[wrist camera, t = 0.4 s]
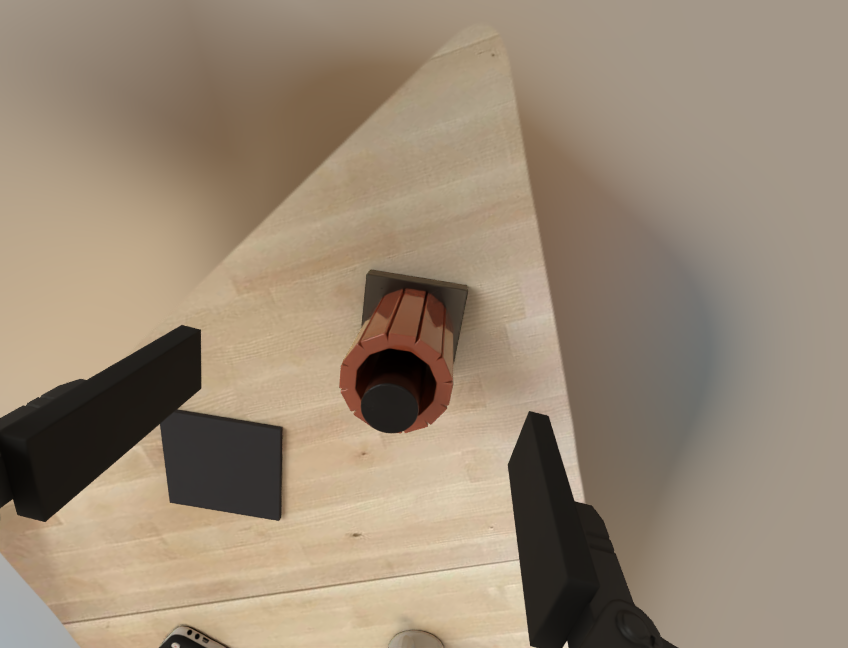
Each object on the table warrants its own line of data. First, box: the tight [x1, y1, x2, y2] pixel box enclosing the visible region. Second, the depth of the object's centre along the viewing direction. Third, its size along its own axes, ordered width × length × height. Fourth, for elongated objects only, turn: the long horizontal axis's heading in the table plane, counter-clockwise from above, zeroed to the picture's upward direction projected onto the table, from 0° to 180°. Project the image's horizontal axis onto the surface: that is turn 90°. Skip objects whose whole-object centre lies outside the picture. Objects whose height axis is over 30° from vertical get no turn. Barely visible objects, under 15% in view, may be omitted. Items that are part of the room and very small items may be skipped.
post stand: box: [361, 270, 468, 433], centre depth 28 cm, size 8×8×13 cm
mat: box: [160, 410, 282, 521], centre depth 41 cm, size 12×12×1 cm
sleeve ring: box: [339, 288, 453, 433], centre depth 28 cm, size 7×7×9 cm
